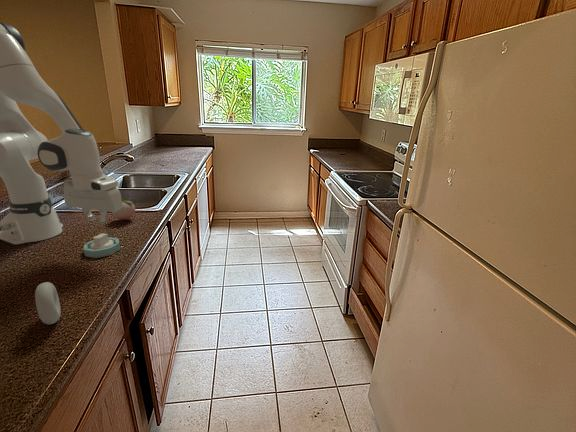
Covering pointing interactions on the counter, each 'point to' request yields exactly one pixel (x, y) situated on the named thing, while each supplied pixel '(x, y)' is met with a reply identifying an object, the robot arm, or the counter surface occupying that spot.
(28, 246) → the counter surface
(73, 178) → the robot arm
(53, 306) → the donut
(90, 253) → the studded octagonal holder
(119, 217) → the decorative fruit
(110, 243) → the cap
